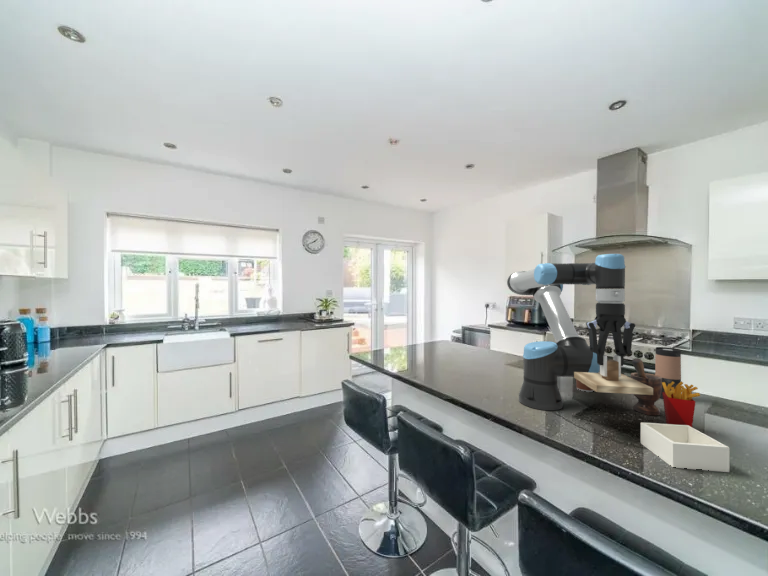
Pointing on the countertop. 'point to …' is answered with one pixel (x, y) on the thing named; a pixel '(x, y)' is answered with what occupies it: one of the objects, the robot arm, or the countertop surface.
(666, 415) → the french fries
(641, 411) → the mortar and pestle
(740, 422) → the countertop surface
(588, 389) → the coffee cup
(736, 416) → the countertop surface
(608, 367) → the lid
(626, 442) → the countertop surface
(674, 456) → the white open storage bin
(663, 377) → the travel mug
